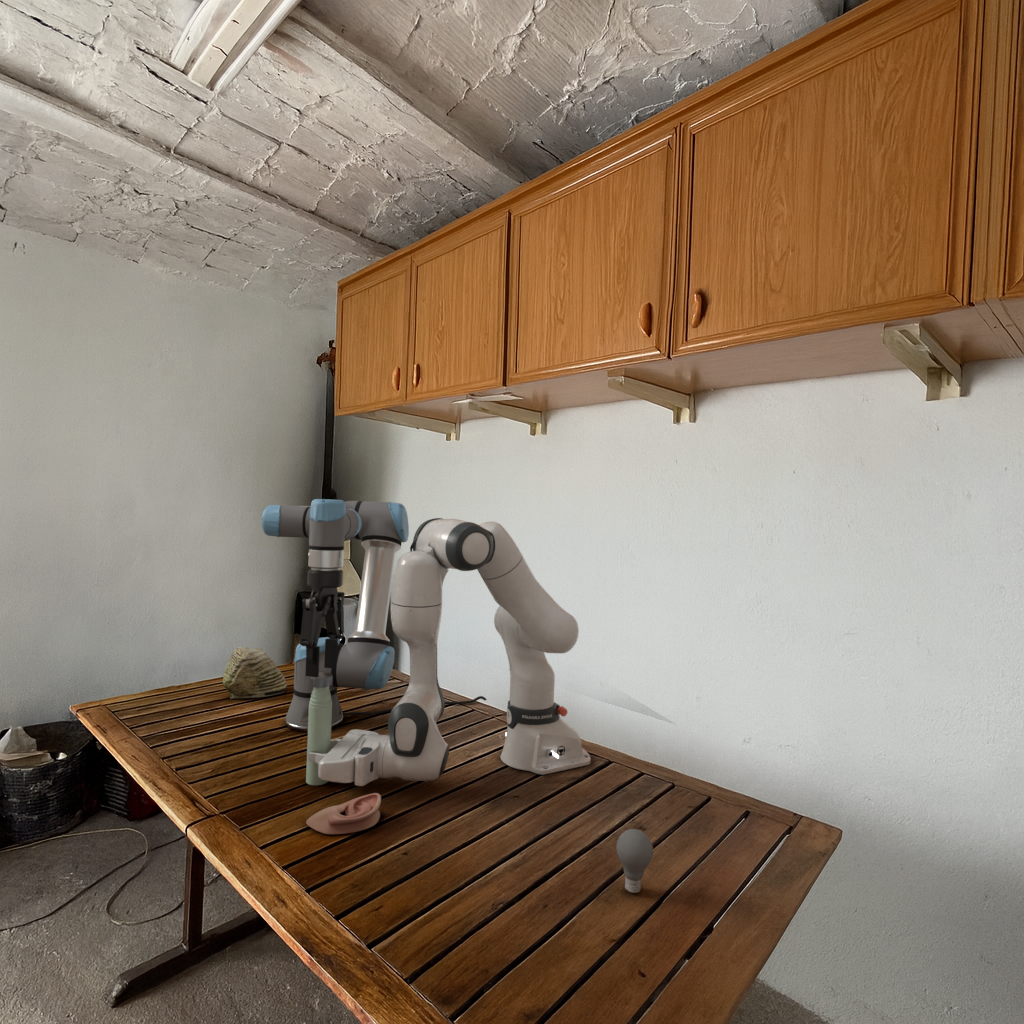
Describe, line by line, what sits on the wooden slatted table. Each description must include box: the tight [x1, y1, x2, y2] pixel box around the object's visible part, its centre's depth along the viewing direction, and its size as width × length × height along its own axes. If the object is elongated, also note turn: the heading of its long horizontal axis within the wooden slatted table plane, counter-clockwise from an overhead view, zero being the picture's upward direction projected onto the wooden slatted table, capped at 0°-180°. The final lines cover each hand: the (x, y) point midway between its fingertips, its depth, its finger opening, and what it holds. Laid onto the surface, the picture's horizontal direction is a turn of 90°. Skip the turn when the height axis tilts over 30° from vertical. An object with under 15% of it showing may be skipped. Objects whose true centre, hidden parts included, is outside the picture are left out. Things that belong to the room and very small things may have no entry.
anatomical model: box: [305, 792, 382, 835], centre depth 124 cm, size 13×4×12 cm
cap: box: [310, 672, 333, 688], centre depth 141 cm, size 5×5×2 cm
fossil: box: [222, 646, 288, 699], centre depth 198 cm, size 9×18×15 cm, turn 132°
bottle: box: [305, 687, 332, 786], centre depth 141 cm, size 5×5×23 cm
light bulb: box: [615, 828, 654, 894], centre depth 106 cm, size 6×6×10 cm
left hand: (321, 671), depth 141 cm, fingers open, 7 cm apart
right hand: (314, 750), depth 141 cm, fingers closed on bottle, 5 cm apart
